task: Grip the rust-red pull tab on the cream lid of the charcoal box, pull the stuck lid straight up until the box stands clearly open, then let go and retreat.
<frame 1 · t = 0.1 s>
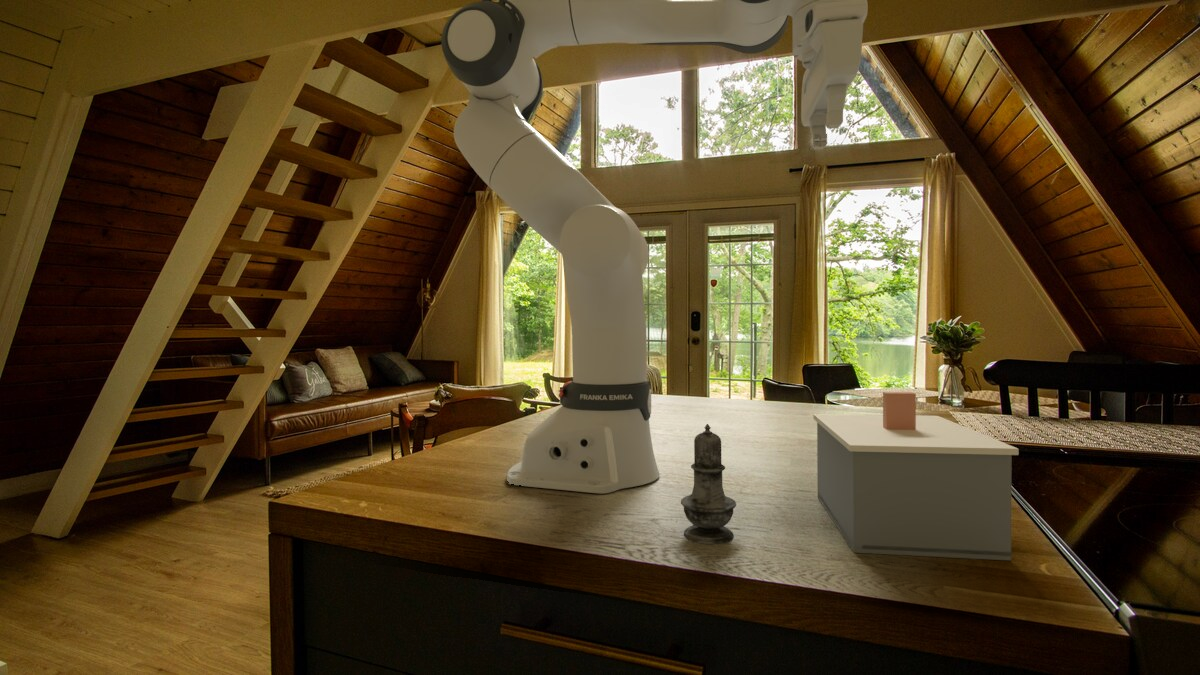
hand: (826, 138, 80), 48 cm above the counter, fingers open, 8 cm apart
salt shaker: (708, 536, 62), on the counter
box: (899, 524, 65), on the counter
lid: (899, 413, 64), point 12 cm above the counter, slide at 0.0 cm
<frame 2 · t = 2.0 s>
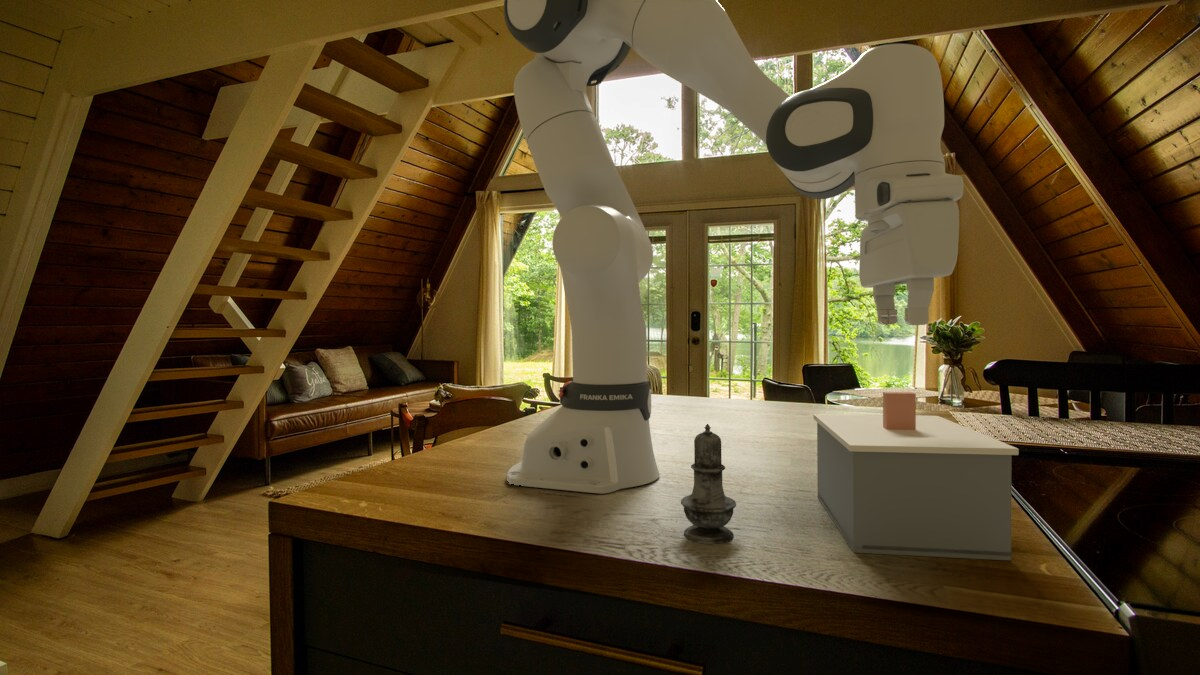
hand: (900, 324, 64), 22 cm above the counter, fingers open, 8 cm apart
nothing on the counter moved.
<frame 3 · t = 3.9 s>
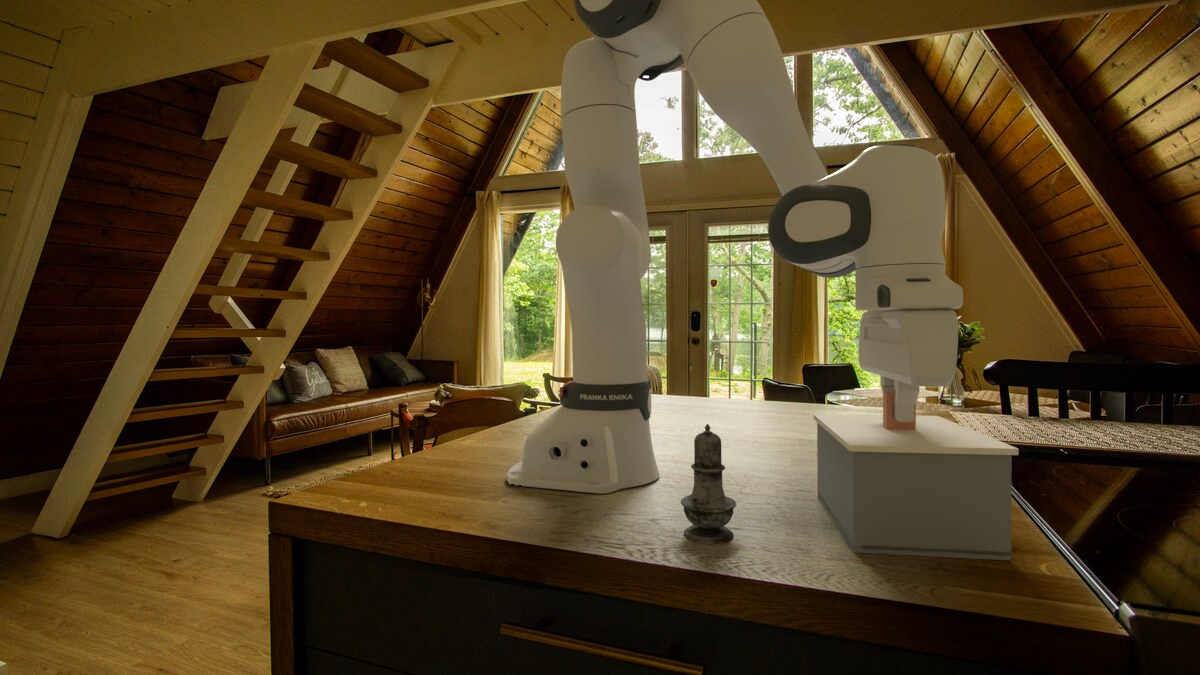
hand: (898, 418, 64), 12 cm above the counter, fingers closed on lid
lid: (899, 413, 64), point 12 cm above the counter, slide at 0.0 cm, touching gripper
everything else where it was.
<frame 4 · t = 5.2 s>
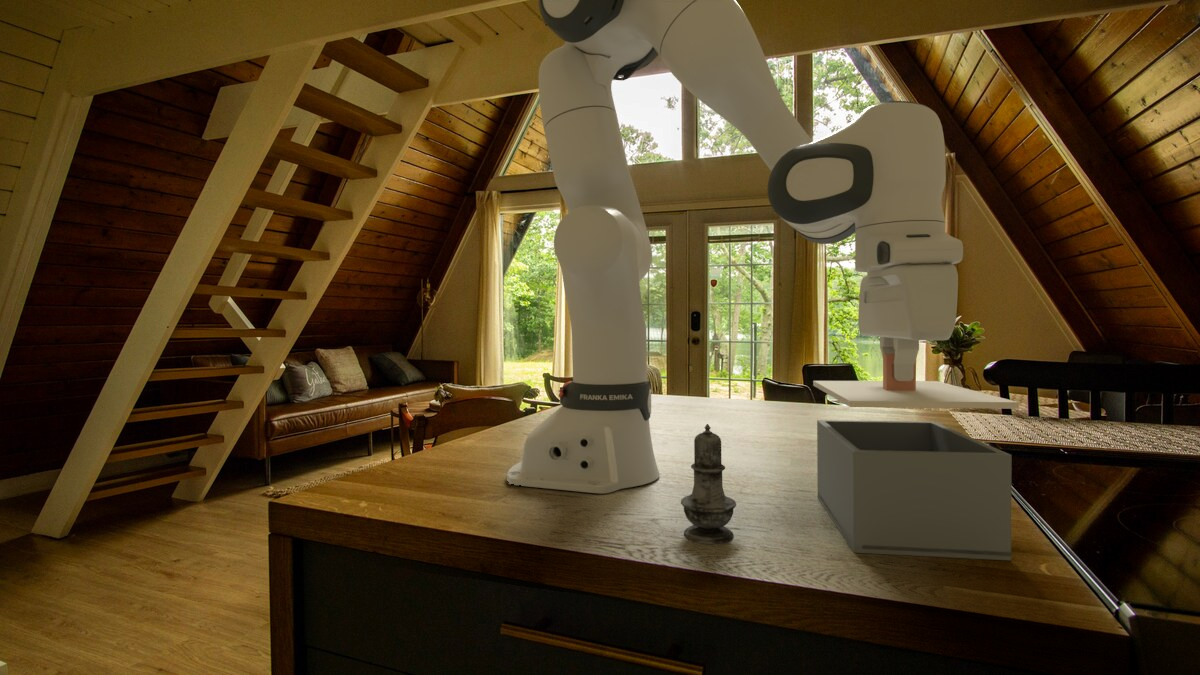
hand: (898, 379, 64), 16 cm above the counter, fingers closed on lid
lid: (899, 374, 64), point 17 cm above the counter, slide at 4.3 cm, touching gripper
everything else where it was.
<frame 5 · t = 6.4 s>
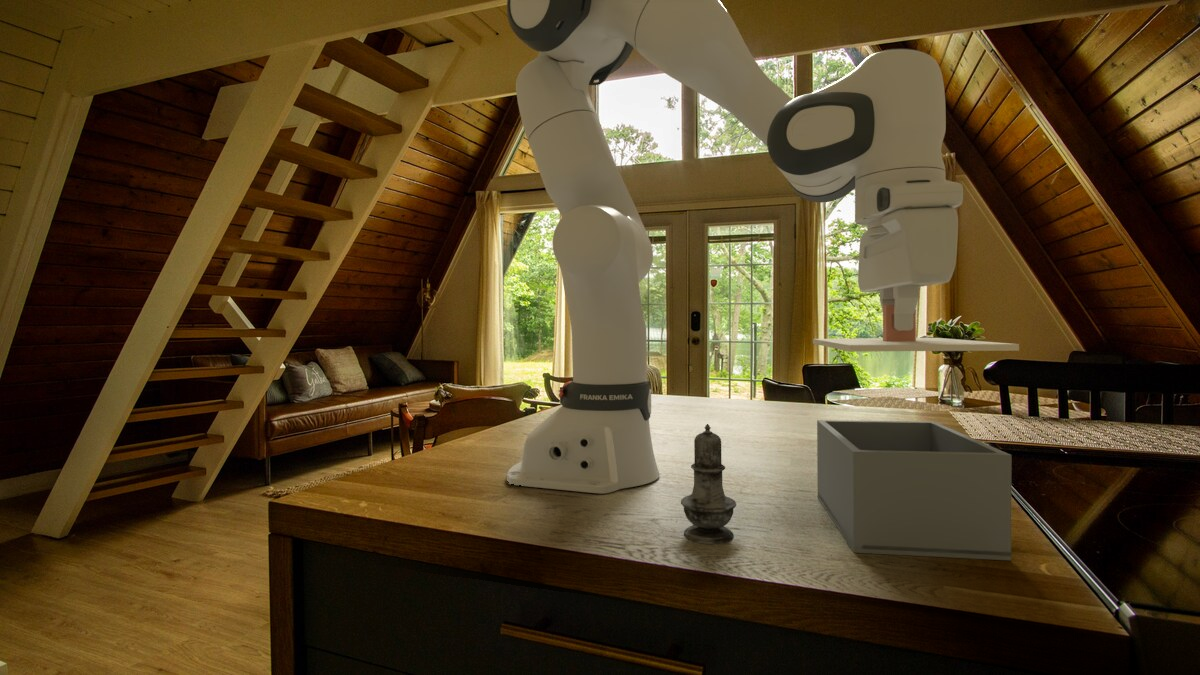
hand: (898, 330, 64), 22 cm above the counter, fingers closed on lid
lid: (899, 325, 64), point 22 cm above the counter, slide at 9.7 cm, touching gripper
everything else where it was.
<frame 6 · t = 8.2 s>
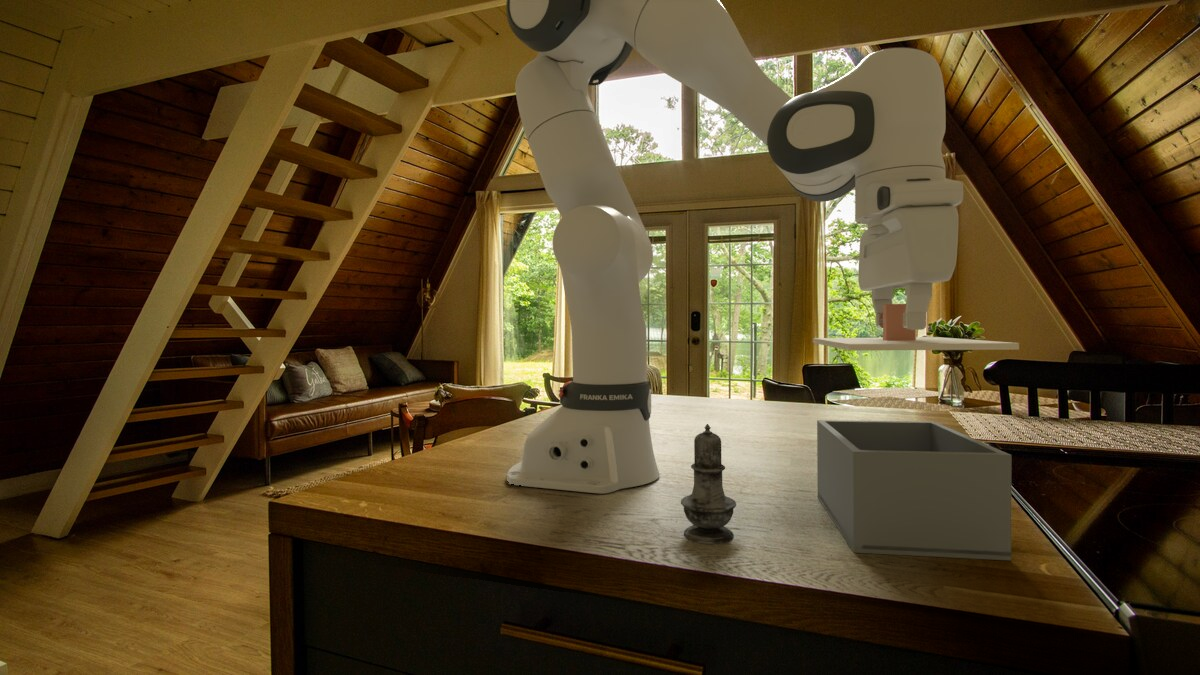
hand: (898, 329, 64), 22 cm above the counter, fingers open, 8 cm apart
lid: (899, 324, 64), point 22 cm above the counter, slide at 9.8 cm
everything else where it was.
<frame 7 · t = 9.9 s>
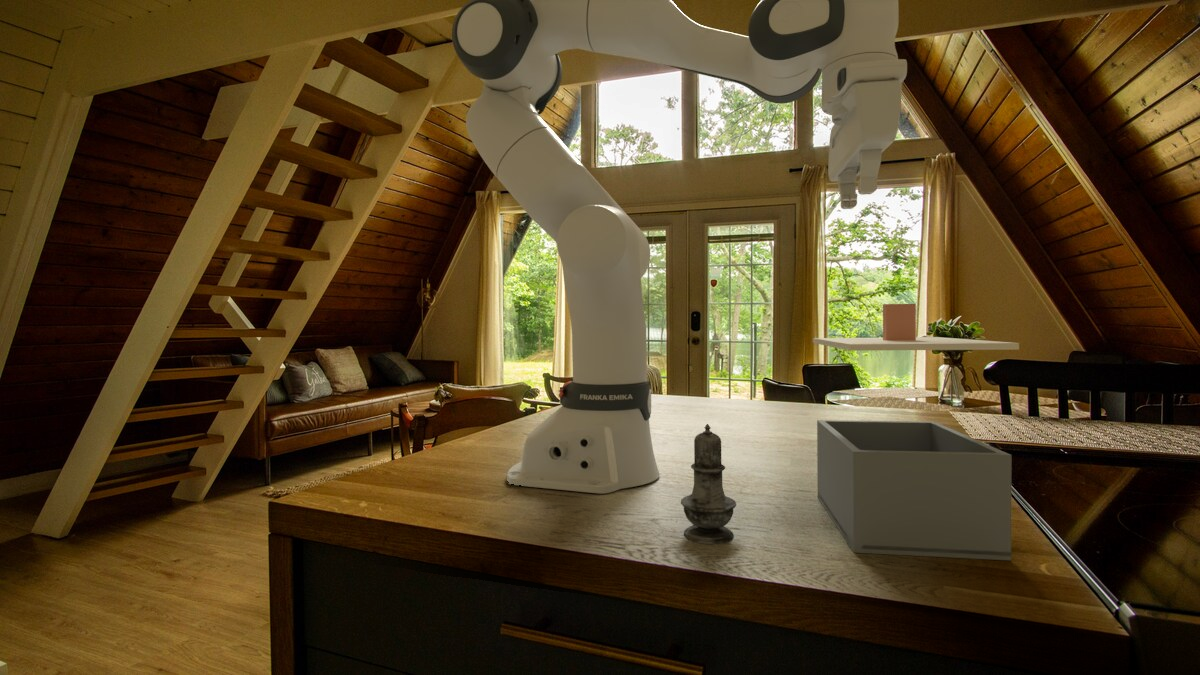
hand: (857, 201, 74), 38 cm above the counter, fingers open, 8 cm apart
nothing on the counter moved.
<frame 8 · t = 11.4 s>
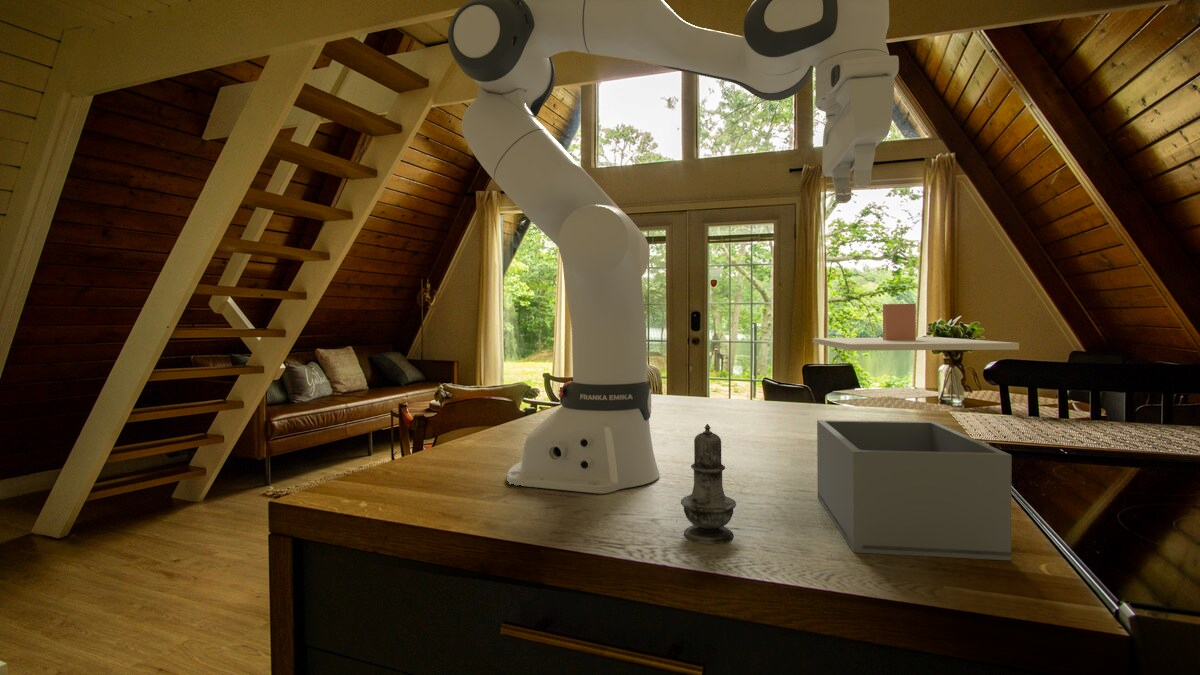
hand: (852, 195, 76), 39 cm above the counter, fingers open, 8 cm apart
nothing on the counter moved.
at the end: lid slide at 9.8 cm; the gripper is holding nothing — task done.
